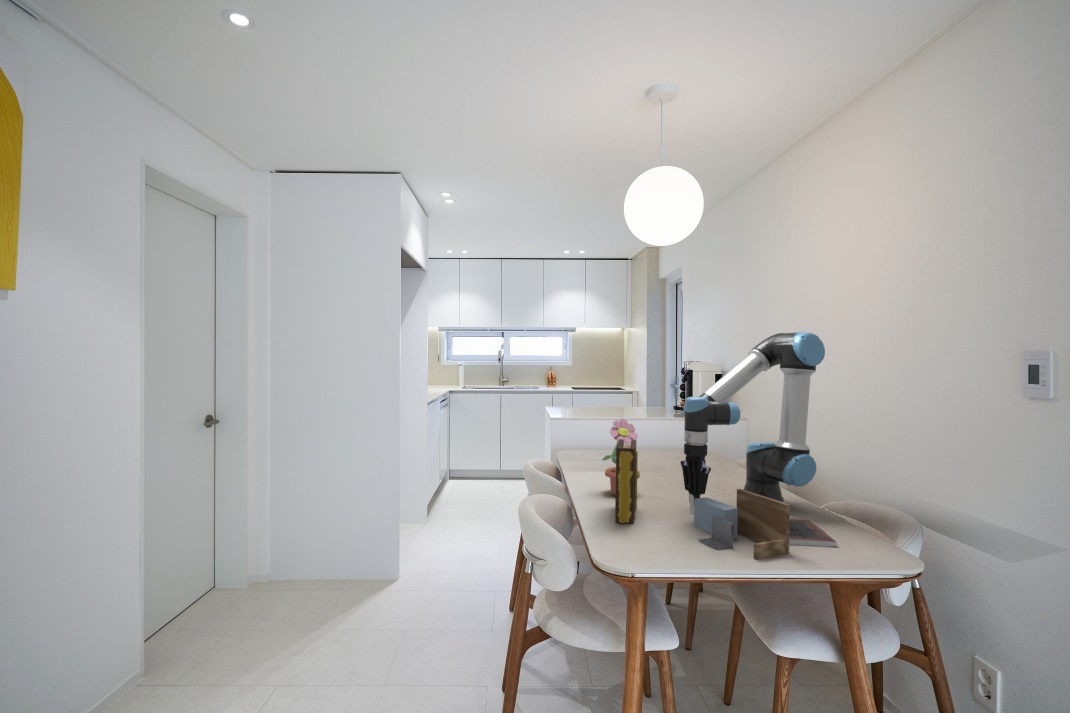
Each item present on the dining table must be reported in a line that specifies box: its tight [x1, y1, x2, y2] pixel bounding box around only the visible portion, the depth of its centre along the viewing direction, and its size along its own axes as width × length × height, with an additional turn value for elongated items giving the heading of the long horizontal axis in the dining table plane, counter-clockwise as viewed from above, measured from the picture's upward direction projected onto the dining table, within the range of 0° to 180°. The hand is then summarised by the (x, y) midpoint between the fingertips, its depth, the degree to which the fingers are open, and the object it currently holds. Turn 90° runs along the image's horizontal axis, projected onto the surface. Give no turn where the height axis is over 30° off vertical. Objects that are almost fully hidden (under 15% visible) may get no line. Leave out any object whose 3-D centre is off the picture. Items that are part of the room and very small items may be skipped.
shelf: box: [736, 488, 791, 560], centre depth 162 cm, size 12×19×14 cm, turn 23°
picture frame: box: [789, 518, 838, 547], centre depth 173 cm, size 16×2×22 cm
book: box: [614, 439, 640, 525], centre depth 191 cm, size 22×8×25 cm, turn 168°
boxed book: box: [693, 496, 738, 539], centre depth 174 cm, size 5×14×9 cm, turn 23°
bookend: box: [698, 516, 735, 551], centre depth 162 cm, size 6×8×7 cm
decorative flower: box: [601, 418, 641, 496], centre depth 218 cm, size 15×14×30 cm
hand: (694, 513), depth 183 cm, fingers closed
